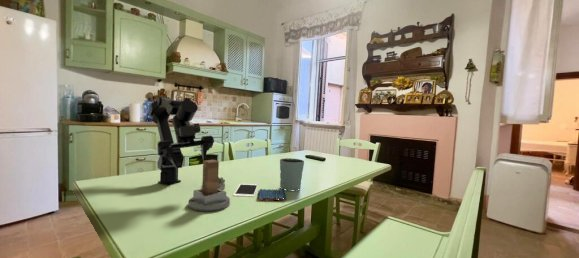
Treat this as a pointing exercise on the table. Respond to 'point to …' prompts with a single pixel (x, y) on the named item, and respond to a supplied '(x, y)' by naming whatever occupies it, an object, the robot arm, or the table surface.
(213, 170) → the brown wooden square peg
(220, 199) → the rosette socket
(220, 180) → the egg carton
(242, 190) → the cell phone
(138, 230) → the table surface
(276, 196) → the woven mat
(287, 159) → the grey cup
